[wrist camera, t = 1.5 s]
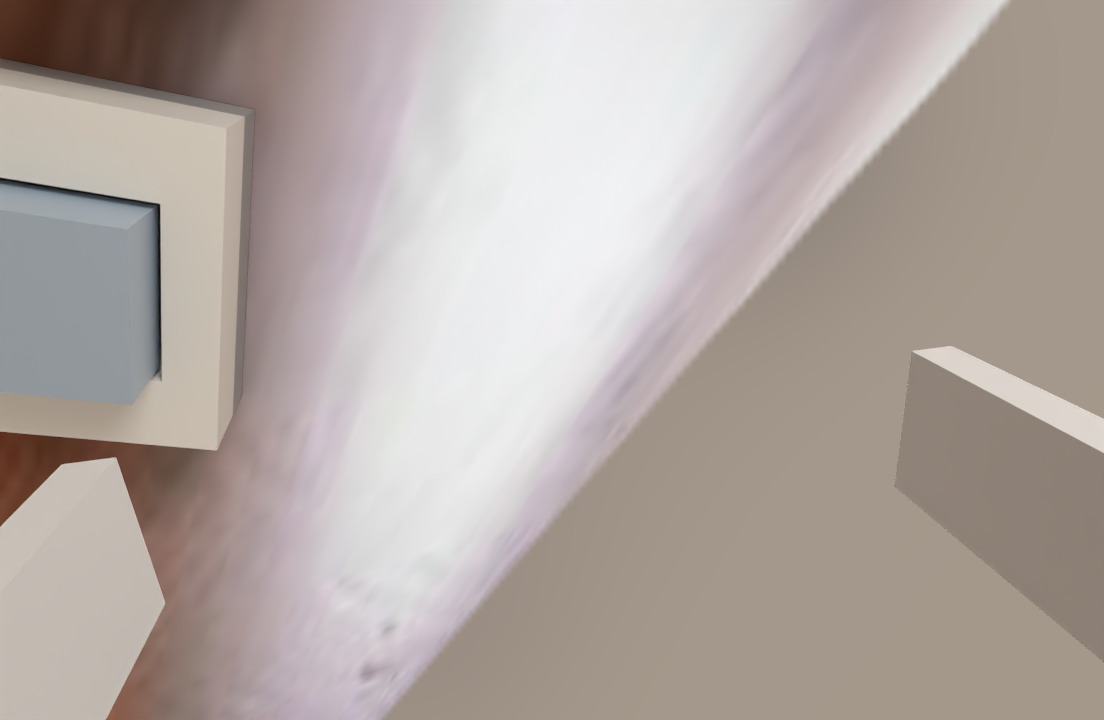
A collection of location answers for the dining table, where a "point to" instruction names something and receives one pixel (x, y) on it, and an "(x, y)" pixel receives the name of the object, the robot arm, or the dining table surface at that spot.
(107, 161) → the console
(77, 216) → the button blue
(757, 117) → the dining table surface
